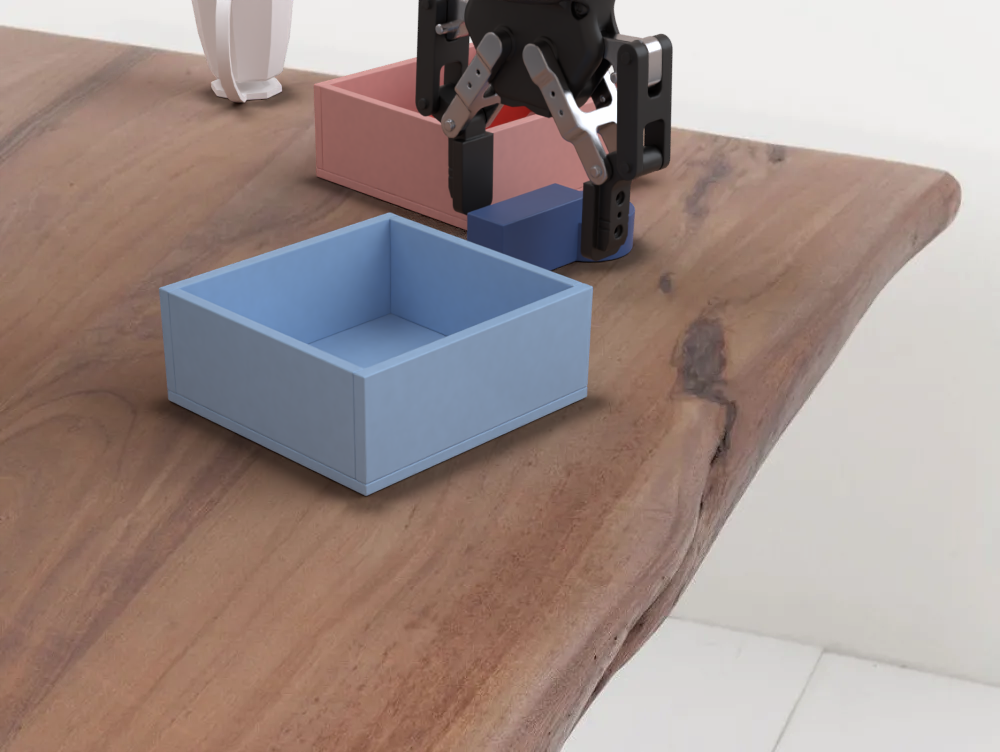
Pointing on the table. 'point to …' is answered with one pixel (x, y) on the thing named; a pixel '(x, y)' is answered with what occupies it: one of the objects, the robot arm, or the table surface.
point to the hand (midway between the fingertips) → (535, 232)
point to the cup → (244, 45)
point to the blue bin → (376, 348)
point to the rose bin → (426, 144)
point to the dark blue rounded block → (538, 227)
